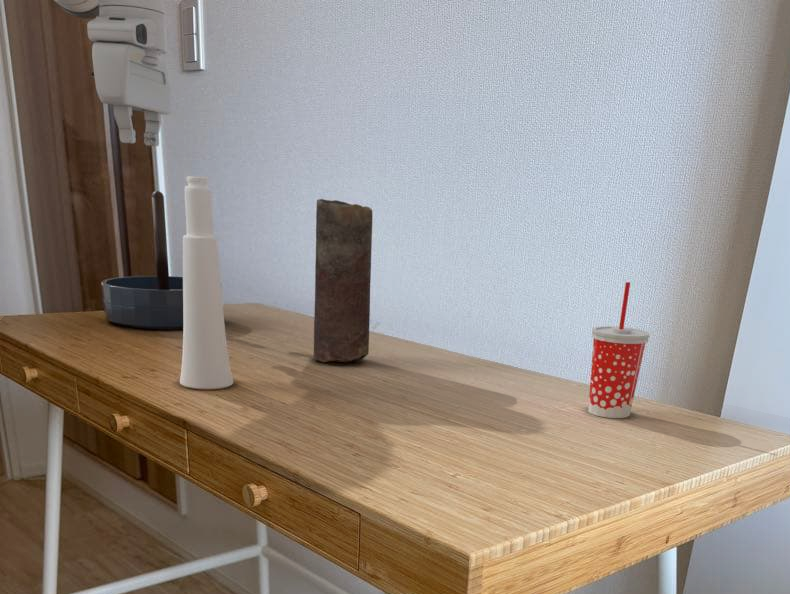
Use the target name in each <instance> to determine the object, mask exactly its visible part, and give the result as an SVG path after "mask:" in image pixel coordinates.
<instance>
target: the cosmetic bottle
mask: <svg viewBox="0 0 790 594" xmlns="http://www.w3.org/2000/svg"><path fill="white" fill-rule="evenodd" d="M185 181H186V182H187V185H185V186H184V191H183V192H184V211H185V229H186V231H185V232H186V234H184V235H183V236H182V277H183V329H182V330H183V331H182V332H183V333H182V334H183V335H182V355H181V368H180V377H179V384H180V385H181V386H182V387H184V388H188V389H193V390H208V391H209V390H220V389H221V390H222V389H226V388H229V387H231V386H233V385H234V377H233V373H232V369H231V363H230V356H229V350H228V343H227V335H226V325H225V313H224V304H223V302H224V301H223V288H222V289H221V283H222V279H221V278H222V277H221V265H220V254H219V253H220V252H219V245H218V237H217V236H216V235H214V227H213V226H214V224H213V205H212V201H213V200H212V189H211V187H209V186H208V183H209V178H208V177H206V176H190V175H188V176H186V180H185Z"/></svg>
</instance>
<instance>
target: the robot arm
mask: <svg viewBox="0 0 790 594" xmlns="http://www.w3.org/2000/svg"><path fill="white" fill-rule="evenodd" d="M53 2H55V3H56V4H57V6H59V7H60V9H61V10H63V11H64V12H66V13H67V14H69V15H71V16H73V17H75V18H78V19H85V20H86V19H91V20H89V21H88V22H87V24H86V26H87V27H86V28H87V37H88V39H89V40H90V41H91V42H93V44H92V47H91V48H92V49H91V54H92V56H91V57H92V66H93V76H94V81H95V82H94V83H95V90H96V93H97V96H98V99H99V101H100V102H101V103H102V104H107V105H110V106H112V109H113V116H114V119H115V121H116V125H117V128H118V132H119V133H118V134H119V141H120V142H121V143H123V144H135V143H136V142H137V139H136V129H134V127H133V121H132V116H133V111H137V112H143V113H144V114H143V115H144V121H145V132H143V139H144V140H143V144H144V145H145V146H147V147H158V146H159V145H160V137H159V136H160V135H159V134H160V131H161V126H162V115H163V116H164V115H167V116H170V115H171V114H172V110H173V96H172V86H171V75H170V71H169V66H168V63H167V60H166V59H164V58H163V56H162V55H166V54H167V53H168V45H167V44H168V43H167V28H166V27H167V26H166V25H167V24H166V23H167V22H166V10H165V7H164V3H163V0H53Z"/></svg>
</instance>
